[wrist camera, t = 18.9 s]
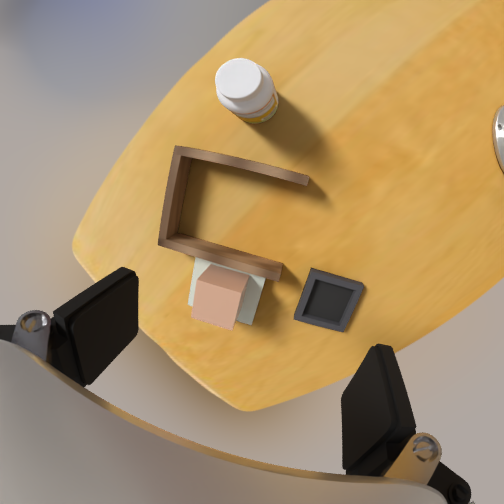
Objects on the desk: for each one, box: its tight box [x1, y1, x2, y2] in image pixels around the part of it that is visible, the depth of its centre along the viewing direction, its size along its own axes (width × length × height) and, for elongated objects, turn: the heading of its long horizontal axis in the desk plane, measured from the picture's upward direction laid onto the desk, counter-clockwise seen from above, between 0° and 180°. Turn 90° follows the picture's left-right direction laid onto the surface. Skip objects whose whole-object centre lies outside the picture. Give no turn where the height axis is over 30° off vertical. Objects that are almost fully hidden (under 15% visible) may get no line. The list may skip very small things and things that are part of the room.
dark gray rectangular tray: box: [294, 268, 364, 332], centre depth 33 cm, size 7×7×1 cm
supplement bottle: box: [215, 58, 278, 123], centre depth 24 cm, size 5×5×10 cm
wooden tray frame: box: [158, 145, 309, 282], centre depth 31 cm, size 15×12×4 cm
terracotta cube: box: [191, 264, 250, 330], centre depth 32 cm, size 5×5×5 cm
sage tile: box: [188, 257, 266, 325], centre depth 35 cm, size 9×8×2 cm
